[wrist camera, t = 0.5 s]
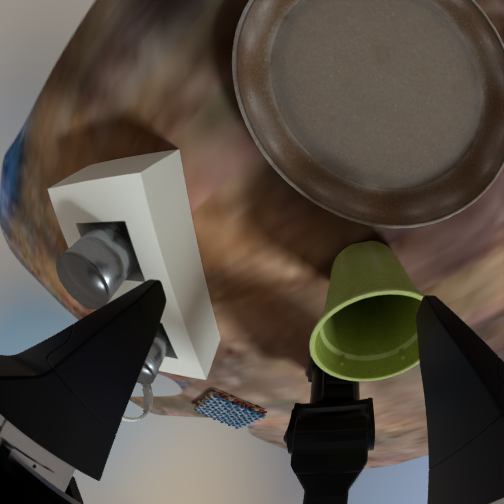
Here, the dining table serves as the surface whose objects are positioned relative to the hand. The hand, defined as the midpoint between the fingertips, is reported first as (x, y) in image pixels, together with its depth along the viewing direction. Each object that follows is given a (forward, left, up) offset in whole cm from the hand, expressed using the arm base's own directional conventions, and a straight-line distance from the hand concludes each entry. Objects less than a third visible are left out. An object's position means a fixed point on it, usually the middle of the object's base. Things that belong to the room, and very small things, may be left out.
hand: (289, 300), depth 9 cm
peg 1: (-4, +15, -10) cm, 18 cm away
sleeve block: (-9, +15, -14) cm, 22 cm away
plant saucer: (+7, -6, -14) cm, 17 cm away
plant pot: (-9, -5, -14) cm, 17 cm away
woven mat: (-40, +12, -15) cm, 44 cm away
